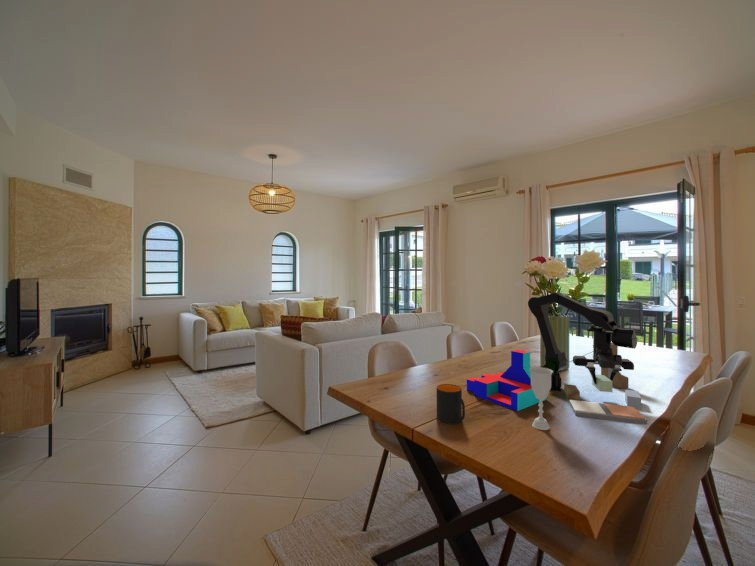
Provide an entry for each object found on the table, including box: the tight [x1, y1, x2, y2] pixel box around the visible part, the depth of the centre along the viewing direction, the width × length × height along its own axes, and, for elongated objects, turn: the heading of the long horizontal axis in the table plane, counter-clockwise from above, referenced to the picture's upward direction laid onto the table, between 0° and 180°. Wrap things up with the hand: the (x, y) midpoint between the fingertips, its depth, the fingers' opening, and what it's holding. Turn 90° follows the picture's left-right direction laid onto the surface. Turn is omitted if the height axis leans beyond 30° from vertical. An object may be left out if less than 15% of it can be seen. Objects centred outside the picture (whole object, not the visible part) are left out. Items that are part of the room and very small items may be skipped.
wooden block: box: [600, 342, 629, 390], centre depth 145 cm, size 9×4×18 cm, turn 23°
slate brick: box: [624, 389, 642, 409], centre depth 124 cm, size 4×8×4 cm, turn 148°
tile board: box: [568, 400, 648, 425], centre depth 116 cm, size 20×12×2 cm, turn 69°
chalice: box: [529, 366, 553, 431], centre depth 106 cm, size 7×7×18 cm
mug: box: [436, 383, 466, 425], centre depth 111 cm, size 8×12×10 cm
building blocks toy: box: [466, 349, 547, 412], centre depth 134 cm, size 19×25×18 cm
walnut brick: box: [563, 383, 581, 401], centre depth 131 cm, size 4×8×4 cm, turn 159°
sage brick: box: [591, 374, 613, 393], centre depth 127 cm, size 4×8×4 cm, turn 165°
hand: (601, 384), depth 127 cm, fingers closed on sage brick, 4 cm apart
